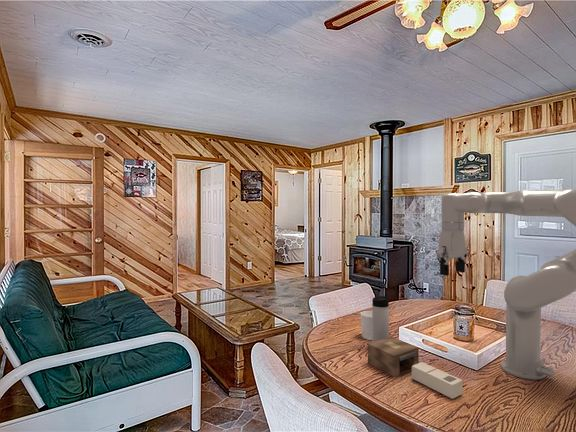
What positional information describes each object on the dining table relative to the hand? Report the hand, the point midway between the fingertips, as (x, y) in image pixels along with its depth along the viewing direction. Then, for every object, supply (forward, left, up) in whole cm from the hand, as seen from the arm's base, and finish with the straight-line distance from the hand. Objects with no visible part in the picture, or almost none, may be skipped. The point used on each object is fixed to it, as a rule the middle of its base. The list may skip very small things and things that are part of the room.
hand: (452, 273), depth 127 cm
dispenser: (+6, +25, -30) cm, 40 cm away
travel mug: (+19, +17, -31) cm, 40 cm away
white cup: (+29, +13, -31) cm, 44 cm away
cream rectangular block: (-11, +25, -30) cm, 41 cm away
